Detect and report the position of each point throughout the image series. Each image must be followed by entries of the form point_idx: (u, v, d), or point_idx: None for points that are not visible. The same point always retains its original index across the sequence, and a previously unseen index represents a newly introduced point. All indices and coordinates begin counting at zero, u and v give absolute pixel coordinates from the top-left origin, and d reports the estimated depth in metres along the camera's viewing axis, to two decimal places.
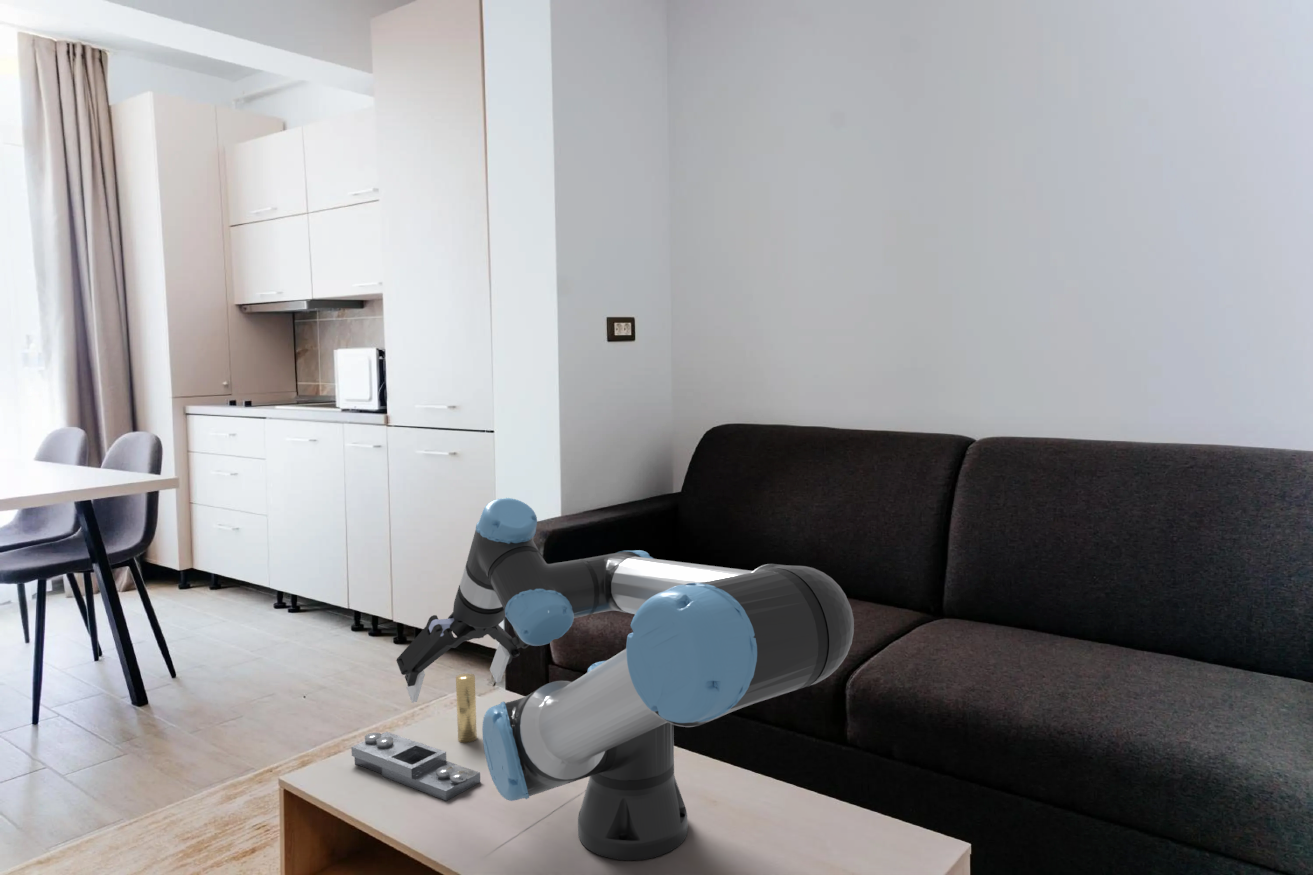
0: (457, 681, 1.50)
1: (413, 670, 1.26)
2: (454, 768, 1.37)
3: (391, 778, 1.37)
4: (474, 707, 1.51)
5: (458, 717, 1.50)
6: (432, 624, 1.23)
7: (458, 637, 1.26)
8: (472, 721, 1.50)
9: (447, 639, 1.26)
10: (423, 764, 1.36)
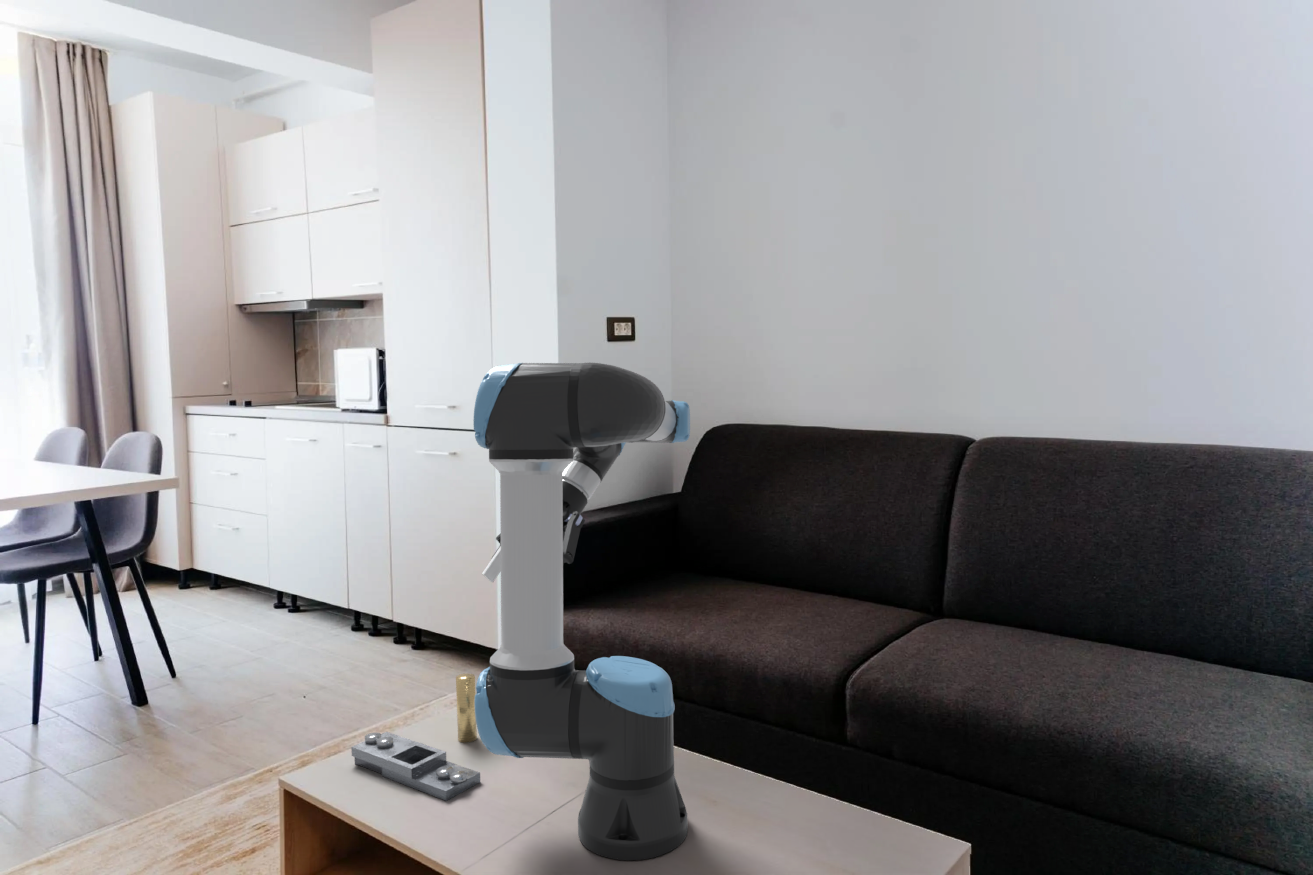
0: (457, 681, 1.50)
1: None
2: (454, 768, 1.37)
3: (391, 778, 1.37)
4: (474, 707, 1.51)
5: (458, 717, 1.50)
6: None
7: None
8: (472, 721, 1.50)
9: None
10: (423, 764, 1.36)
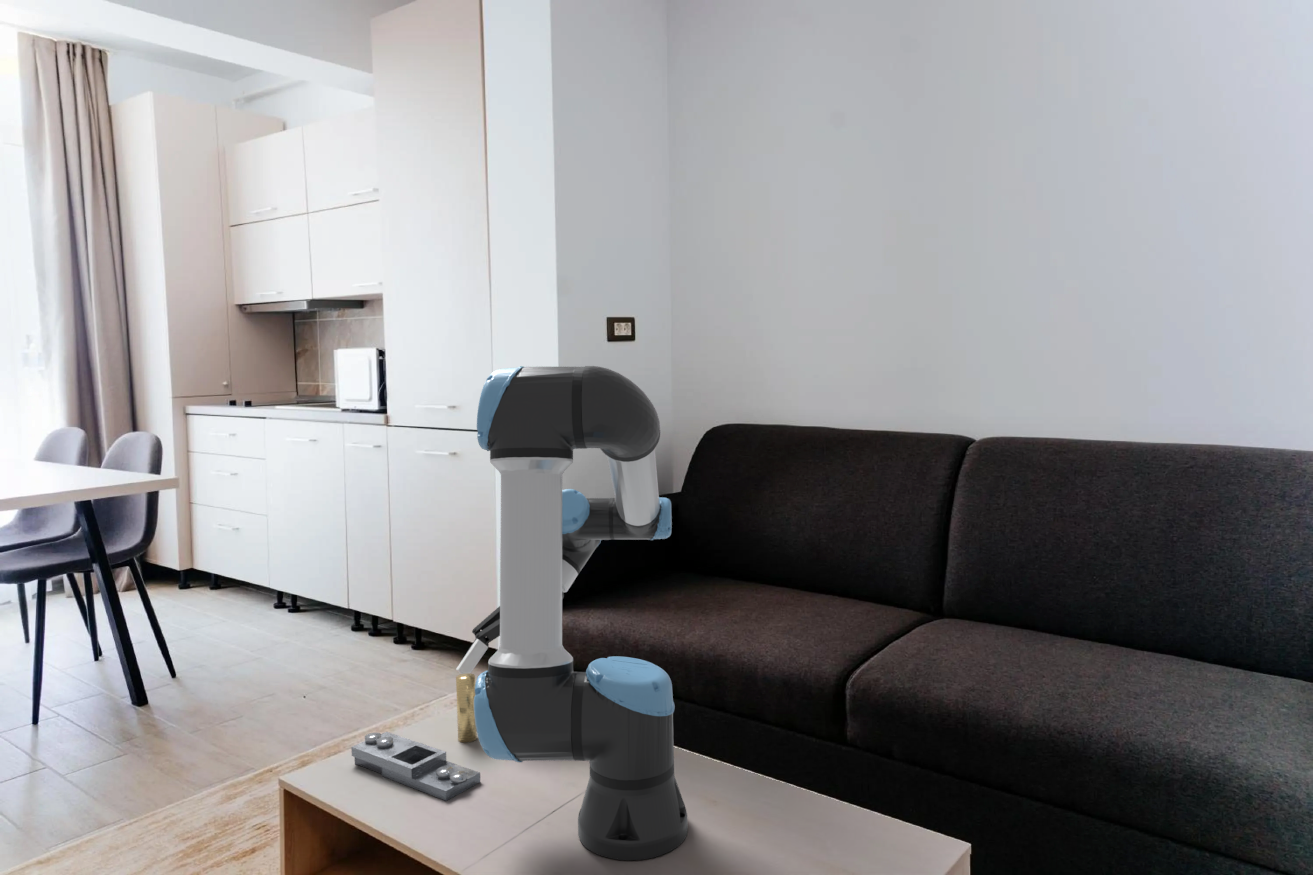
0: (457, 681, 1.50)
1: None
2: (454, 768, 1.37)
3: (391, 778, 1.37)
4: None
5: (458, 717, 1.50)
6: None
7: None
8: (472, 721, 1.50)
9: None
10: (423, 764, 1.36)
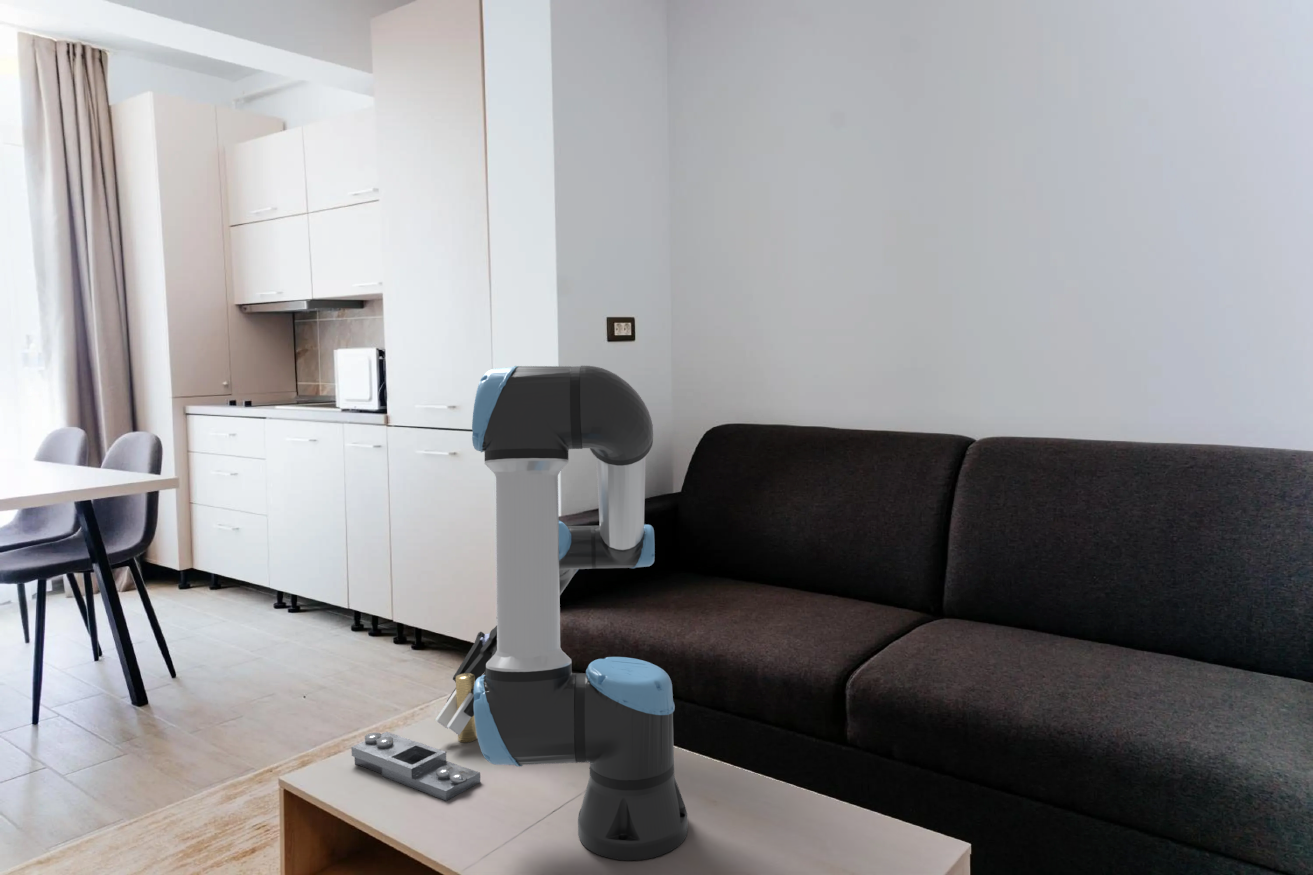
0: (457, 681, 1.50)
1: None
2: (454, 768, 1.37)
3: (391, 778, 1.37)
4: None
5: None
6: None
7: None
8: (472, 721, 1.50)
9: None
10: (423, 764, 1.36)
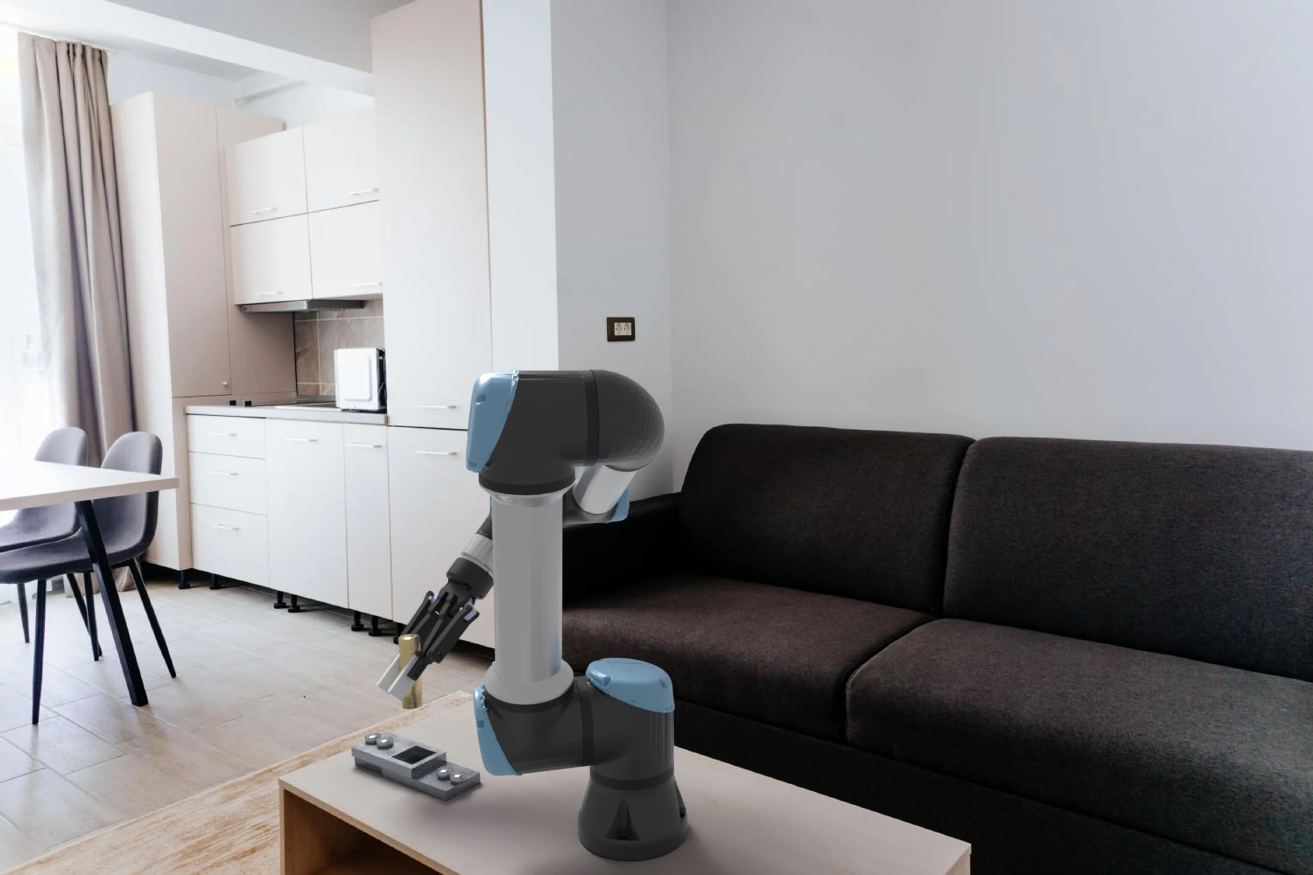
0: (400, 642, 1.36)
1: None
2: (454, 768, 1.37)
3: (391, 778, 1.37)
4: None
5: None
6: None
7: None
8: (417, 686, 1.37)
9: None
10: (423, 764, 1.36)
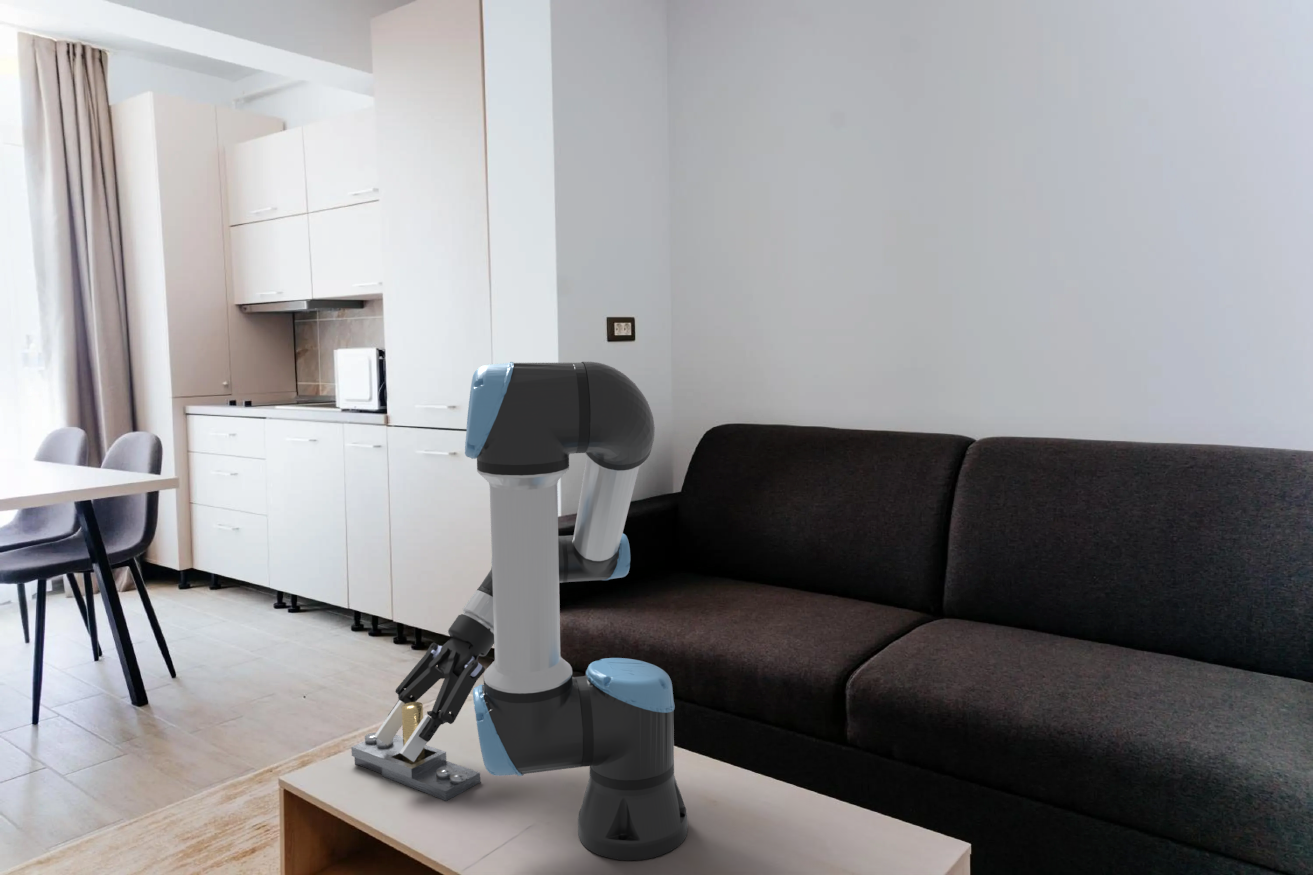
0: (403, 711, 1.37)
1: None
2: (454, 768, 1.37)
3: (391, 778, 1.37)
4: None
5: None
6: None
7: None
8: (420, 755, 1.38)
9: None
10: (423, 764, 1.36)
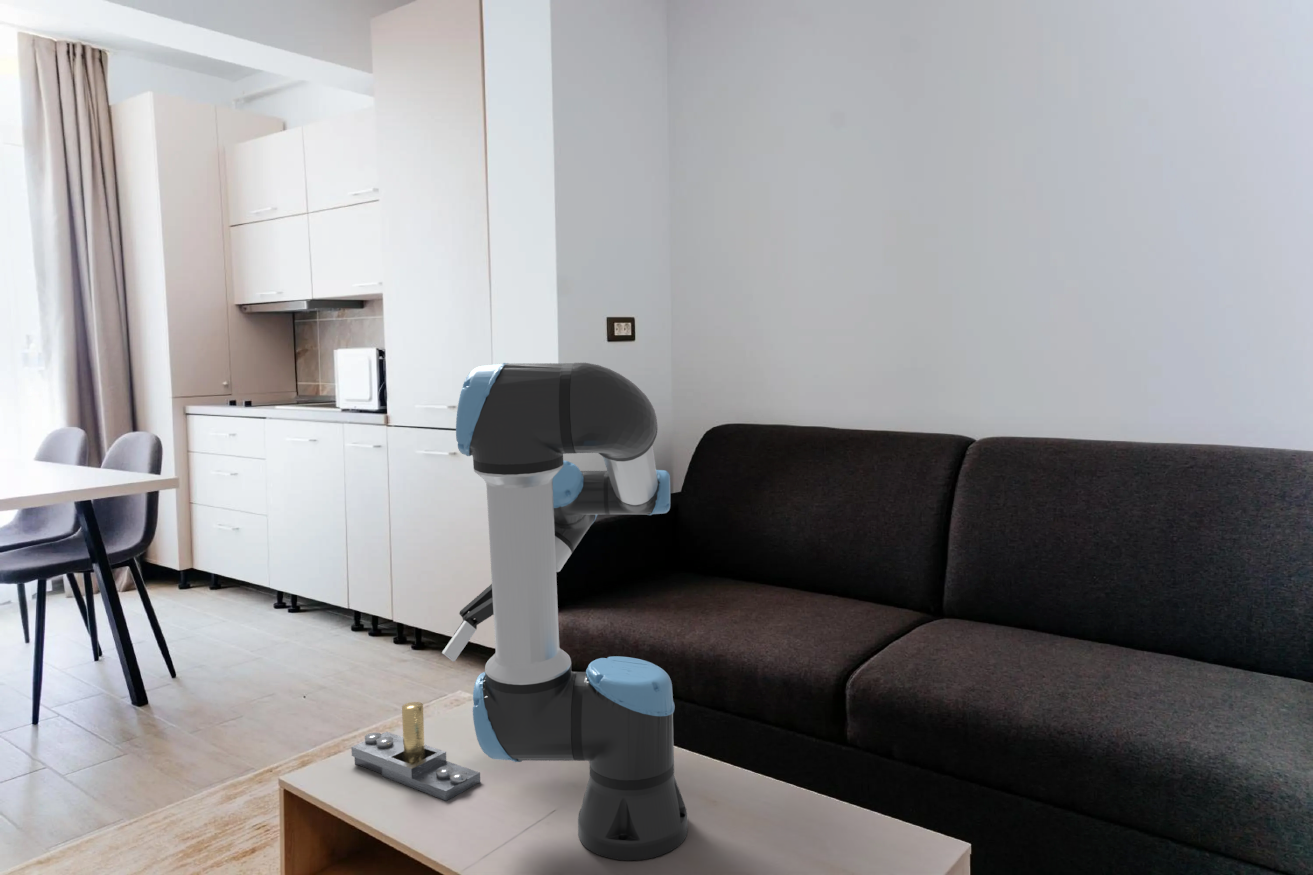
0: (403, 711, 1.37)
1: None
2: (454, 768, 1.37)
3: (391, 778, 1.37)
4: (422, 739, 1.38)
5: (404, 750, 1.38)
6: None
7: None
8: (420, 755, 1.38)
9: None
10: (423, 764, 1.36)
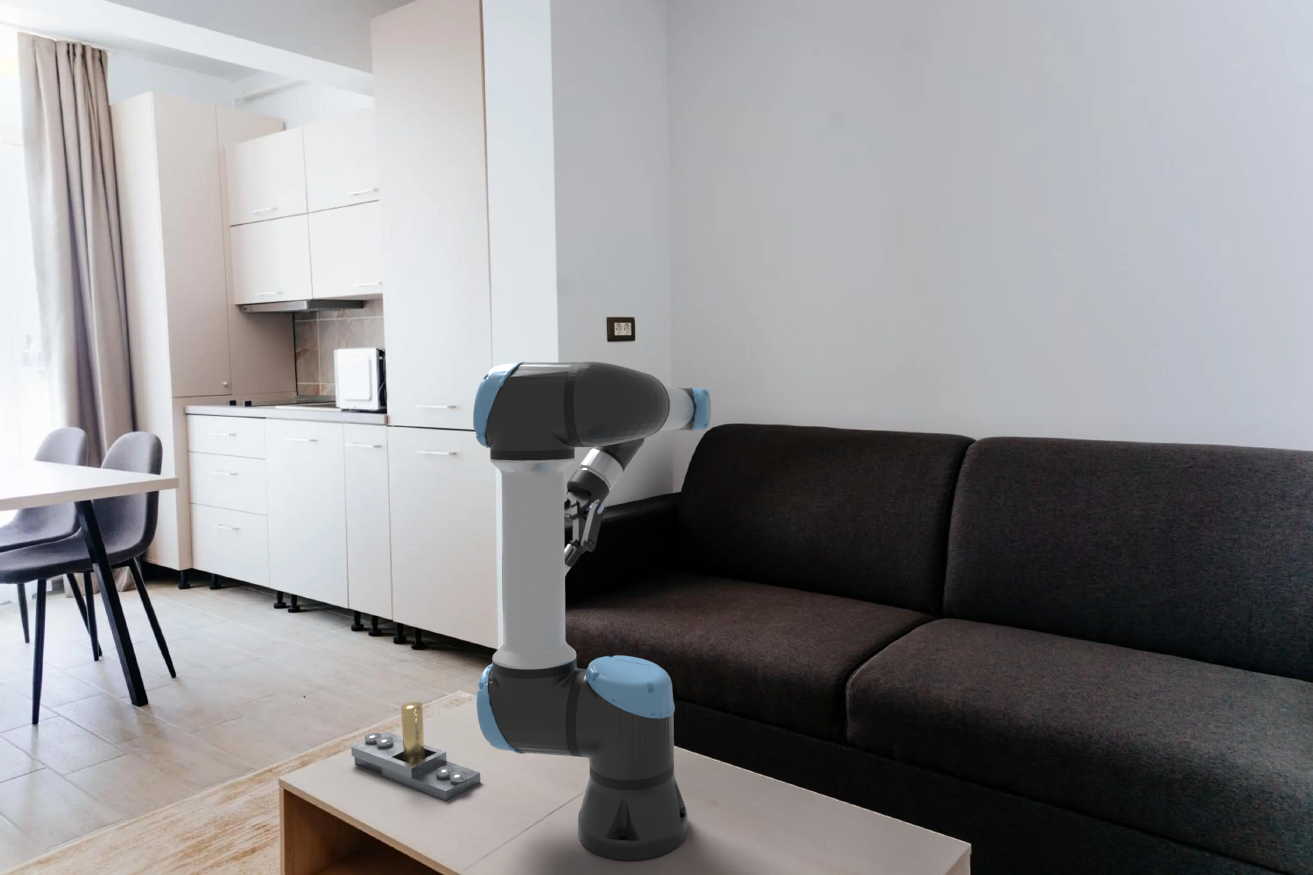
0: (402, 711, 1.37)
1: None
2: (454, 768, 1.37)
3: (391, 778, 1.37)
4: (421, 739, 1.38)
5: (404, 750, 1.38)
6: None
7: None
8: (420, 755, 1.38)
9: None
10: (423, 764, 1.36)
